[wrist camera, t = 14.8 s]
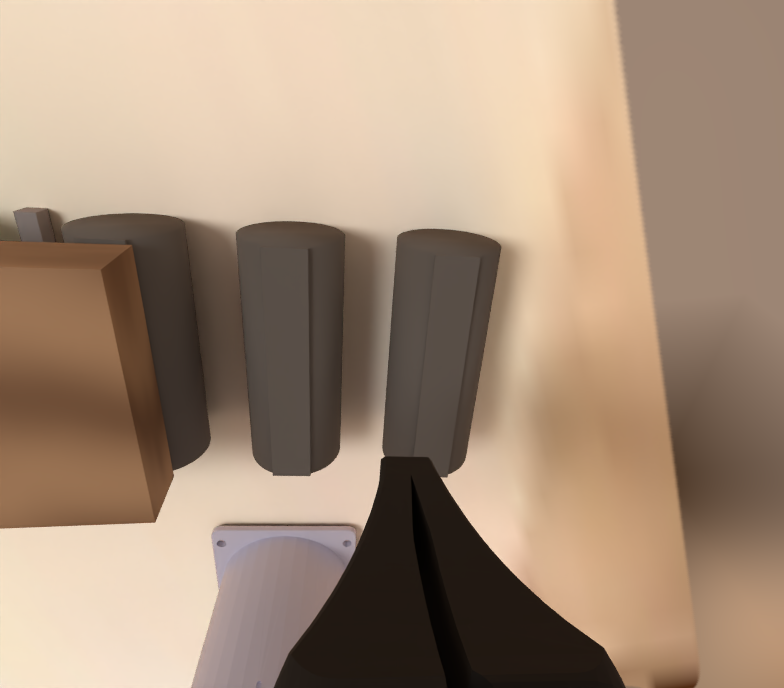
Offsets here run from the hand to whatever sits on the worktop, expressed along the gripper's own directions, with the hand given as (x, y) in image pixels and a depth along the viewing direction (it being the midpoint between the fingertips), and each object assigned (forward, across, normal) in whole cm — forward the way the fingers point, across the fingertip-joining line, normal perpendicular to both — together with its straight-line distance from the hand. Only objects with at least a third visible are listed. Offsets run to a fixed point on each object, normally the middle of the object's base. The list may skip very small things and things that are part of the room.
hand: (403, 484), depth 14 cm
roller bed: (+10, +8, 0) cm, 13 cm away
